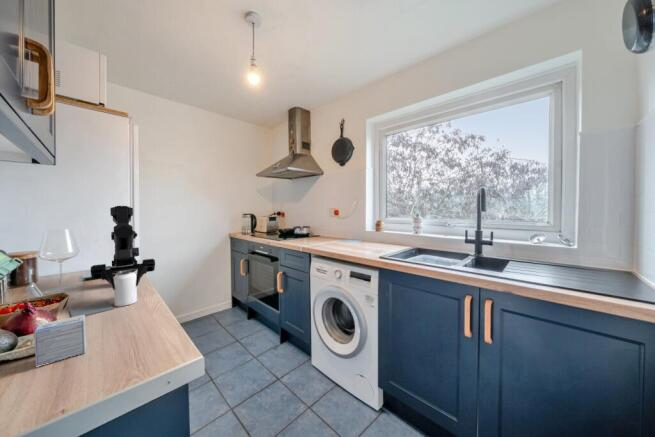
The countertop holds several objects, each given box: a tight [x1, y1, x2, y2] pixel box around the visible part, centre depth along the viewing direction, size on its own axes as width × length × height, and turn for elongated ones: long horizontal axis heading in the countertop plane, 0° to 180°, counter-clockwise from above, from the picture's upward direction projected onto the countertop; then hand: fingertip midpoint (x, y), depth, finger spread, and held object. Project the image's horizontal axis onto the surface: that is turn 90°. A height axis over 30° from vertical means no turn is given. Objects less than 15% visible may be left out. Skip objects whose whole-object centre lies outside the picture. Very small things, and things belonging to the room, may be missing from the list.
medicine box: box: [33, 315, 87, 367], centre depth 57 cm, size 8×4×9 cm, turn 135°
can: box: [113, 270, 138, 308], centre depth 88 cm, size 6×6×12 cm
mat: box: [68, 301, 115, 318], centre depth 83 cm, size 10×10×1 cm
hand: (125, 287), depth 87 cm, fingers closed on can, 6 cm apart
